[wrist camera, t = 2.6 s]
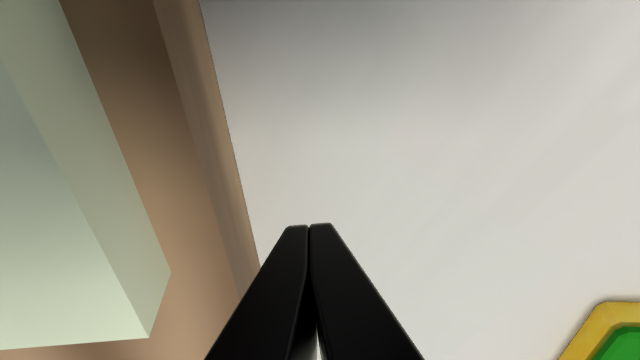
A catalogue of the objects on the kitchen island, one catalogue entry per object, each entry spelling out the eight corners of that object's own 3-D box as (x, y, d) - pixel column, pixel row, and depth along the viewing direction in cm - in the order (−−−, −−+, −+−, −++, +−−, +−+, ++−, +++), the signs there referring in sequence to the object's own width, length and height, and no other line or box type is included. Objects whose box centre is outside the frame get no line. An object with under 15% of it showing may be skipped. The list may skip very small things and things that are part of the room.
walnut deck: (100, -422, 8) (-30, -627, 5) (267, 297, 21) (261, 373, 18) (-483, -360, 8) (-986, -521, 5) (32, 317, 21) (-17, 395, 18)
